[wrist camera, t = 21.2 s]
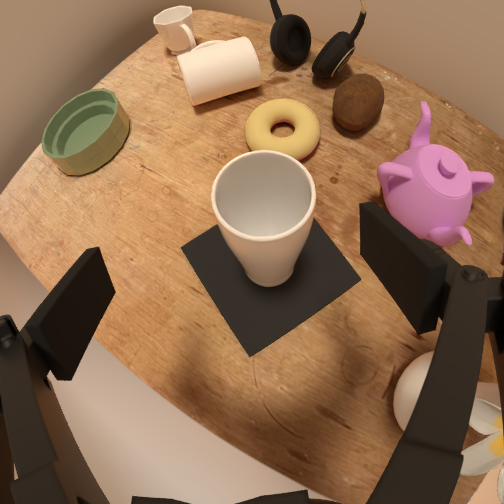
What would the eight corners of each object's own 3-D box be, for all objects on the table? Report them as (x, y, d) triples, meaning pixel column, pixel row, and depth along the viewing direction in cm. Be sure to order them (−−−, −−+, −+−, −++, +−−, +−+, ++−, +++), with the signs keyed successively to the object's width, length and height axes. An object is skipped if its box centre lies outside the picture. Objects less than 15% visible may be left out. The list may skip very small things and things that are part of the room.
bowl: (67, 193, 40) (48, 175, 35) (52, 141, 44) (37, 123, 40) (142, 141, 42) (129, 119, 37) (116, 97, 46) (105, 77, 41)
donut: (241, 165, 41) (310, 179, 38) (229, 147, 37) (306, 161, 34) (264, 105, 43) (329, 115, 40) (256, 85, 38) (326, 93, 35)
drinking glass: (275, 221, 36) (273, 132, 22) (314, 269, 34) (339, 201, 19) (224, 257, 35) (189, 183, 21) (261, 308, 33) (249, 264, 18)
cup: (191, 35, 50) (182, 1, 43) (216, 54, 47) (209, 17, 40) (158, 50, 50) (146, 17, 42) (180, 72, 46) (168, 34, 39)
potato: (319, 126, 40) (323, 93, 34) (345, 87, 43) (350, 55, 37) (364, 147, 39) (375, 115, 33) (385, 104, 41) (395, 74, 35)
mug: (263, 96, 43) (260, 53, 35) (196, 117, 42) (183, 75, 35) (237, 54, 47) (232, 17, 39) (180, 72, 46) (168, 35, 39)
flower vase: (439, 480, 24) (590, 557, 1) (329, 391, 30) (463, 455, 6) (503, 389, 27) (670, 374, 3) (406, 296, 32) (574, 176, 9)
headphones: (285, 41, 47) (282, -58, 29) (363, 72, 44) (383, -34, 25) (256, 64, 46) (245, -45, 27) (340, 99, 42) (359, -21, 23)
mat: (249, 357, 31) (249, 357, 31) (181, 248, 36) (180, 247, 36) (360, 280, 33) (361, 279, 33) (285, 184, 38) (285, 182, 37)
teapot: (432, 272, 33) (471, 245, 24) (349, 188, 37) (365, 143, 29) (478, 212, 35) (512, 178, 26) (404, 141, 39) (424, 97, 30)
